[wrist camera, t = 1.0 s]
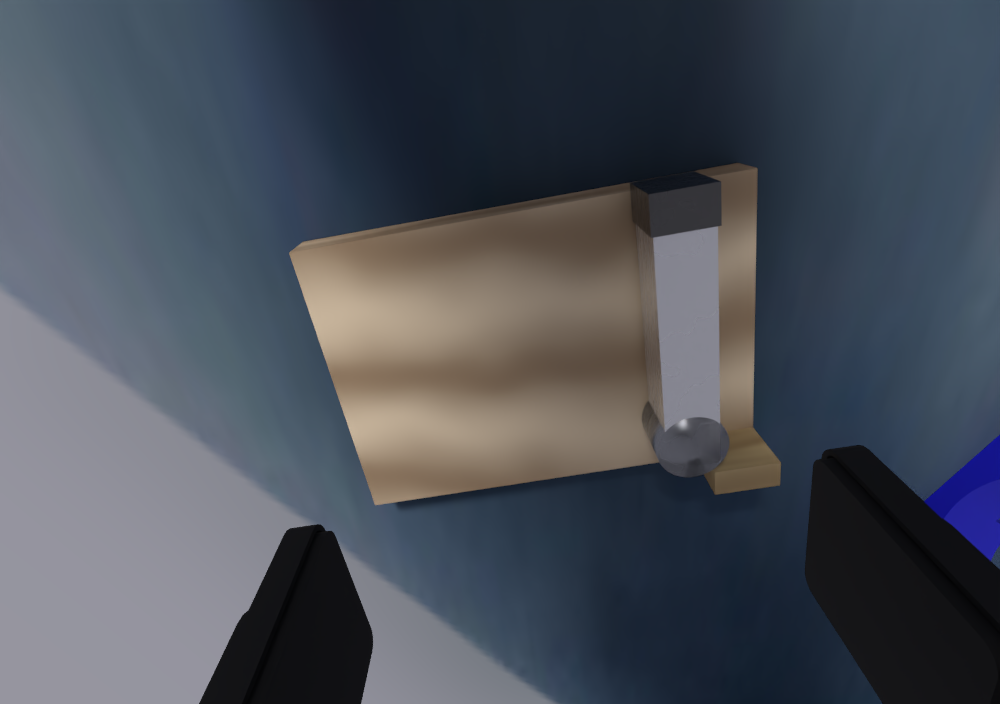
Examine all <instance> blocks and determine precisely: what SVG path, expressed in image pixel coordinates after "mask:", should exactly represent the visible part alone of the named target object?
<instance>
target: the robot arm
mask: <svg viewBox="0 0 1000 704" xmlns="http://www.w3.org/2000/svg"><path fill="white" fill-rule="evenodd" d="M805 576H806V581H807V584H808V586H809V589H810V591H811V592H812V594H813V596H814V597H815V599H816V600H817V602H818V604H819V605H820V607H821V608H822V610H823V611H824V613H825V614H826V616H827V618H828V619H829V621H830V622H831V624H832V625H833V627H834V628H835V630H836V631H837V633H838V635H839V636H840V638H841V639H842V641H843V642H844V644H845V645H846V647H847V649H848V650H849V652H850V653H851V655H852V656H853V658H854V659H855V661H856V663H857V664H858V666H859V667H860V669H861V670H862V672H863V673H864V675H865V677H866V678H867V680H868V681H869V683H870V684H871V686H872V687H873V689H874V691H875V692H876V694H877V695H878V697H879V698H880V700H881V701H882V703H883V704H1000V569H998V568H997V567H996V566H995V565H994V564H993V563H992V562H991V561H990V560H989V559H988V558H987V557H986V556H985V555H983V554H982V553H981V552H980V551H979V550H978V549H977V548H976V547H975V546H974V545H973V544H972V543H971V542H970V541H968V540H967V539H966V538H965V537H964V536H963V535H962V534H961V533H960V532H959V531H958V530H957V529H956V528H955V527H953V526H952V525H951V524H950V523H948V522H947V521H946V520H944V519H943V518H941V517H940V516H939V515H938V514H937V513H936V512H935V511H933V510H932V509H931V508H930V507H929V506H928V505H927V504H926V503H925V502H924V501H923V500H922V499H921V498H920V497H919V496H917V495H916V494H915V493H914V492H913V491H912V490H911V489H910V488H909V487H908V486H907V485H906V484H905V483H904V482H903V481H902V480H900V479H899V478H898V477H897V476H896V475H895V474H894V473H893V472H892V471H891V470H890V469H889V468H888V467H887V466H886V465H884V464H883V463H882V462H881V461H880V460H879V459H878V458H877V457H876V456H875V455H874V454H873V453H872V452H871V451H870V450H869V449H867V448H866V447H864V446H861V445H856V446H849V447H842V448H835V449H829V450H826V451H824V453H823V454H822V459H819V460H816V461H815V462H814V465H813V474H812V487H811V499H810V512H809V524H808V537H807V549H806V562H805ZM372 649H373V636H372V630H371V627H370V624H369V622H368V619H367V617H366V614H365V611H364V609H363V606H362V604H361V601H360V598H359V596H358V593H357V591H356V588H355V586H354V583H353V580H352V578H351V575H350V573H349V570H348V568H347V565H346V562H345V560H344V557H343V554H342V552H341V549H340V547H339V544H338V541H337V539H336V536H335V534H334V533H333V532H332V531H325V529H324V527H323V526H322V525H319V524H317V525H311V526H304V527H297V528H290V529H289V530H287V531H286V533H285V535H284V536H283V538H282V541H281V543H280V545H279V547H278V549H277V551H276V553H275V556H274V558H273V560H272V562H271V564H270V566H269V568H268V570H267V572H266V575H265V577H264V579H263V581H262V583H261V585H260V587H259V590H258V592H257V594H256V596H255V598H254V600H253V602H252V604H251V607H250V609H249V610H248V611H247V612H246V613H245V614H244V615H243V616H242V617H241V619H240V620H239V622H238V624H237V626H236V628H235V630H234V632H233V634H232V636H231V638H230V640H229V642H228V645H227V647H226V649H225V651H224V653H223V655H222V657H221V659H220V661H219V663H218V666H217V668H216V670H215V672H214V674H213V676H212V678H211V680H210V682H209V684H208V686H207V688H206V691H205V692H204V695H203V697H202V699H201V701H200V703H199V704H361V700H362V697H363V692H364V687H365V682H366V678H367V673H368V668H369V664H370V659H371V654H372Z"/></svg>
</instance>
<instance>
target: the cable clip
mask: <svg viewBox="0 0 1000 704" xmlns="http://www.w3.org/2000/svg"><path fill="white" fill-rule="evenodd" d="M924 502H925V503H926V504H927V505H928V506H929V507H930V508H931V509H932V510H933V511H935V512H936V513H937V514H938V515H939V516H940V517H941V518H943V519H944V520H946V521H947V522H948V523H950V524H951V525H952V526H953V527H955V528H956V529H957V530H958V531H959V532H960V533H961V534H962V535H963V536H964V537H965V538H966V539H967V540H968V541H970V542H971V543H972V544H973V545H974V546H975V547H976V548H977V549H978V550H979V551H980V552H981V553H982V554H983V555H985V556H986V557H987V558H988V559H989V560H990V561H991V559H992V557H993V555H994V553H995V551H996V550H997V548H998V547H999V545H1000V520H998V519H999V518H1000V435H999V436H998V437H997V438H996V439H994V440H993V441H992V442H991V443H990V444H989V445H988V446H987V447H985V448H984V449H983V450H982V451H981V452H980V453H979V454H977V455H976V456H975V457H974V458H973V459H972V460H971V461H969V462H968V463H967V464H966V465H965V466H964V467H963V468H962V469H960V470H959V471H958V472H957V473H956V474H955V475H954V476H952V477H951V478H950V479H949V480H948V481H947V482H946V483H945V484H943V485H942V486H941V487H940V488H939V489H938V490H937V491H935V492H934V493H933V494H932V495H931V496H930V497H929V498H928V499H926V500H925V501H924Z"/></svg>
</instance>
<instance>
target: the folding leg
mask: <svg viewBox="0 0 1000 704" xmlns="http://www.w3.org/2000/svg"><path fill="white" fill-rule="evenodd" d="M630 195H631V208H632V221H633V222H634V223H635V224H636V236H637V250H638V263H639V277H640V291H641V304H642V318H643V332H644V345H645V359H646V373H647V386H648V400H649V401H648V402H647V403H646V405H645V407H644V409H643V412H642V424H643V427H644V429H645V432H646V434H647V436H648V438H649V440H650V443H651V445H652V447H653V449H654V451H655V453H656V456H657V458H658V460H659V462H660V464H661V465H662V467H663V468H664V469H665V470H666V471H668V472H669V473H671V474H673V475H676V476H680V477H696V476H700V475H703V474H706V473H708V472H710V471H712V470H713V469H715V468H716V467H717V466H718V465H719V464H720V463H721V462H722V461H723V460H724V458H725V457H726V455H727V452H728V449H729V443H730V442H729V436H728V433H727V431H726V430H725V428H724V427H723V425H722V424H721V422H720V363H719V273H718V226H722V201H721V181H719V180H716V179H714V178H711V177H708V176H706V175H703V174H700V173H697V172H695V171H691V172H686V173H680V174H675V175H669V176H664V177H658V178H653V179H647V180H642V181H636V182H631V183H630Z"/></svg>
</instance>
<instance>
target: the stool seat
mask: <svg viewBox="0 0 1000 704" xmlns="http://www.w3.org/2000/svg"><path fill="white" fill-rule="evenodd" d="M690 172H691V171H690ZM695 172H697V173H700V174H703V175H706V176H708V177H711V178H714V179H716V180H719V181H721V201H722V226H718V273H719V363H720V422H721V424H722V425H723V427H724V428H725V430H726V431H727V433H728V436H729V442H730V443H729V449H728V452H727V455H726V457H725V458H724V460H723V461H722V462H721V463H720V464H719V465H718V466H717V467H716V468H715V469H713V470H712V471H710V472H708V473H706V474H704V476H705V478H706V480H707V481H708V483H709V485H710V487H711V488H712V490H713V492H714V494H715V495H718V494H724V493H731V492H738V491H745V490H752V489H758V488H765V487H772V486H779V485H780V474H781V462H780V461H779V460H778V458H777V457H776V456H775V454H774V453H773V452H772V451H771V449H770V448H769V447H768V446H767V444H766V443H765V442H764V441H763V439H762V438H761V437H760V435H759V434H758V433H757V432H756V430H755V429H754V428H753V395H754V339H755V284H756V228H757V172H758V168H755V167H752V166H748V165H744V164H741V163H734V164H729V165H723V166H718V167H712V168H707V169H701V170H696V171H695ZM685 173H686V172H685ZM679 174H680V173H679ZM674 175H675V174H674ZM668 176H669V175H668ZM663 177H664V176H663ZM657 178H658V177H657ZM652 179H653V178H652ZM646 180H647V179H646ZM641 181H642V180H641ZM635 182H636V181H635ZM630 183H631V182H630ZM630 183H624V184H619V185H613V186H608V187H602V188H597V189H591V190H586V191H580V192H575V193H569V194H564V195H558V196H553V197H547V198H542V199H536V200H531V201H525V202H520V203H514V204H509V205H503V206H497V207H492V208H486V209H481V210H475V211H470V212H464V213H459V214H453V215H448V216H442V217H437V218H431V219H426V220H420V221H415V222H409V223H404V224H398V225H393V226H387V227H382V228H376V229H371V230H365V231H360V232H354V233H349V234H343V235H338V236H332V237H327V238H321V239H316V240H310V241H305V242H302V243H301V244H300V245H298V246H297V247H296V248H295V249H293V250H292V251H291V252H289V254H290V257H291V260H292V263H293V266H294V269H295V272H296V275H297V278H298V280H299V283H300V286H301V289H302V292H303V295H304V298H305V301H306V304H307V307H308V310H309V313H310V316H311V319H312V321H313V324H314V327H315V330H316V333H317V336H318V339H319V342H320V345H321V348H322V351H323V354H324V357H325V360H326V362H327V365H328V368H329V371H330V374H331V377H332V380H333V383H334V386H335V389H336V392H337V395H338V398H339V401H340V403H341V406H342V409H343V412H344V415H345V418H346V421H347V424H348V427H349V430H350V433H351V436H352V439H353V442H354V444H355V447H356V450H357V453H358V456H359V459H360V462H361V465H362V468H363V471H364V474H365V477H366V480H367V483H368V485H369V488H370V491H371V494H372V497H373V500H374V503H375V505H380V504H387V503H394V502H400V501H407V500H413V499H420V498H427V497H433V496H440V495H447V494H453V493H460V492H466V491H473V490H480V489H486V488H493V487H500V486H506V485H513V484H519V483H526V482H533V481H539V480H546V479H552V478H559V477H566V476H572V475H579V474H586V473H592V472H599V471H605V470H612V469H619V468H625V467H632V466H639V465H645V464H652V463H658V462H659V460H658V458H657V456H656V453H655V451H654V449H653V447H652V445H651V443H650V440H649V438H648V436H647V434H646V432H645V429H644V427H643V424H642V412H643V409H644V407H645V405H646V403H647V402H648V401H649V400H648V386H647V373H646V359H645V345H644V332H643V318H642V304H641V291H640V277H639V263H638V250H637V236H636V224H635V223H634V222H633V221H632V208H631V195H630Z"/></svg>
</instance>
